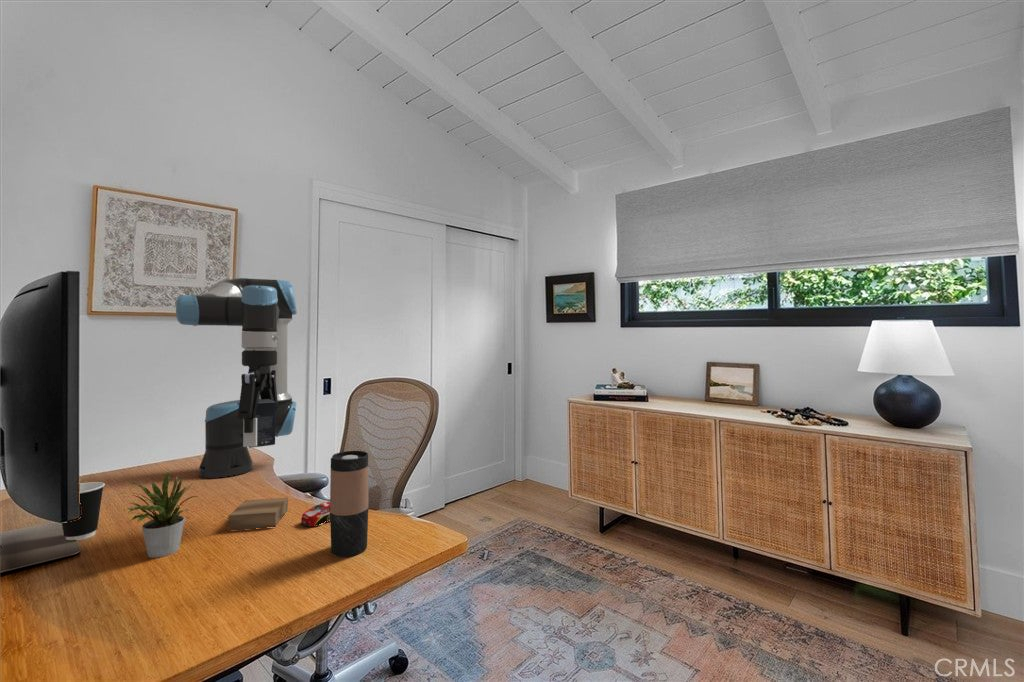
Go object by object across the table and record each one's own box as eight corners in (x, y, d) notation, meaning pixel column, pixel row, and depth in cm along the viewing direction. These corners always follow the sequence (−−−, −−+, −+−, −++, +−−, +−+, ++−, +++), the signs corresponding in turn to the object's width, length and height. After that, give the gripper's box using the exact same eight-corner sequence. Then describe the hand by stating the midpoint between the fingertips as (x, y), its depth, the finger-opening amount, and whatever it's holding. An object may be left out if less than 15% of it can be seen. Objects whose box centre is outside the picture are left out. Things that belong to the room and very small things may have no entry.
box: (275, 445, 107) (275, 401, 107) (248, 448, 104) (248, 403, 104) (269, 439, 113) (269, 397, 113) (243, 442, 110) (243, 399, 110)
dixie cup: (114, 529, 103) (114, 481, 103) (80, 544, 96) (80, 493, 96) (80, 528, 104) (80, 481, 104) (44, 544, 96) (44, 493, 96)
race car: (346, 508, 118) (346, 493, 118) (358, 513, 114) (359, 497, 114) (297, 524, 107) (297, 508, 107) (309, 530, 104) (309, 513, 104)
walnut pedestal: (244, 516, 112) (244, 500, 112) (287, 513, 114) (287, 497, 114) (228, 532, 103) (228, 515, 103) (275, 529, 105) (275, 512, 105)
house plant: (117, 547, 94) (117, 471, 94) (197, 530, 103) (197, 459, 103) (114, 575, 83) (114, 488, 83) (203, 552, 92) (204, 474, 92)
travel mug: (376, 546, 95) (376, 453, 95) (346, 561, 89) (346, 461, 89) (351, 538, 99) (352, 448, 99) (321, 552, 93) (322, 456, 93)
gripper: (256, 350, 98) (256, 452, 98) (292, 348, 120) (291, 431, 120) (219, 350, 97) (219, 453, 97) (262, 348, 119) (262, 432, 119)
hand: (259, 441), depth 108 cm, fingers closed on box, 9 cm apart
